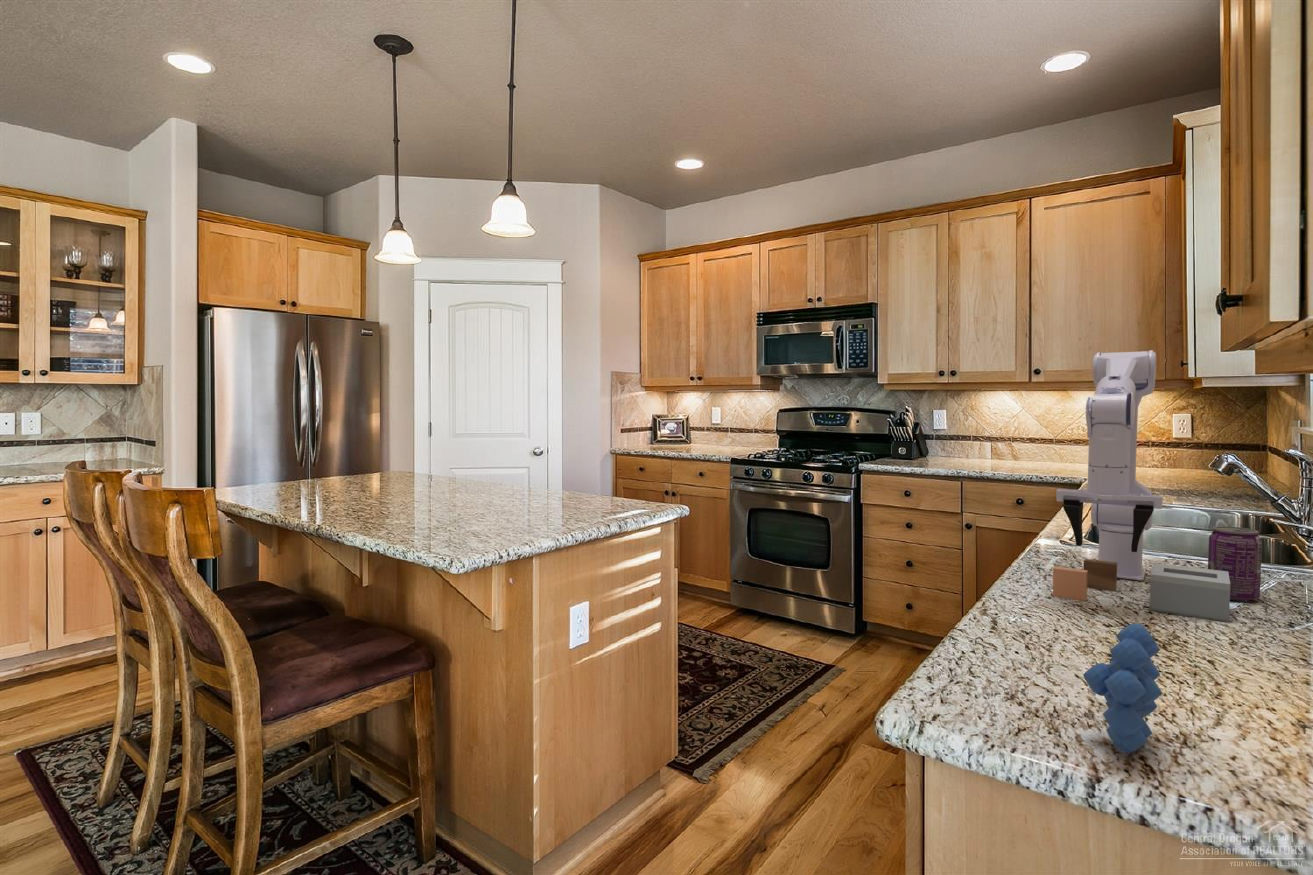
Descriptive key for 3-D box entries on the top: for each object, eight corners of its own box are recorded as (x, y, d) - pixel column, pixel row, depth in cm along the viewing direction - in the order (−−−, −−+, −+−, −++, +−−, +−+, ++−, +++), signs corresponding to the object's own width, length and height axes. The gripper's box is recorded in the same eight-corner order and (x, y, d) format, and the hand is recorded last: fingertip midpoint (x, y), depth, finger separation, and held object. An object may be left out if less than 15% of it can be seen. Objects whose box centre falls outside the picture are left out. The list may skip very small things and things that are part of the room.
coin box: (1152, 596, 121) (1154, 562, 120) (1226, 606, 114) (1228, 571, 114) (1149, 610, 113) (1151, 574, 113) (1228, 622, 107) (1230, 584, 106)
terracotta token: (1054, 593, 123) (1055, 566, 123) (1087, 598, 120) (1087, 570, 120) (1052, 596, 122) (1053, 568, 121) (1085, 601, 118) (1086, 572, 118)
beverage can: (1239, 592, 123) (1242, 526, 123) (1270, 603, 116) (1273, 533, 116) (1197, 591, 124) (1199, 525, 123) (1225, 602, 117) (1228, 532, 116)
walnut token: (1084, 585, 129) (1085, 558, 128) (1116, 589, 126) (1117, 562, 125) (1083, 587, 127) (1083, 560, 127) (1115, 591, 124) (1116, 564, 124)
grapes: (1094, 711, 76) (1097, 605, 76) (1169, 731, 72) (1173, 618, 71) (1066, 750, 68) (1070, 630, 67) (1150, 775, 63) (1154, 647, 63)
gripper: (1054, 465, 114) (1052, 546, 115) (1162, 470, 105) (1159, 558, 106) (1060, 462, 120) (1058, 539, 121) (1164, 467, 111) (1161, 550, 112)
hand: (1106, 548), depth 114 cm, fingers open, 7 cm apart
